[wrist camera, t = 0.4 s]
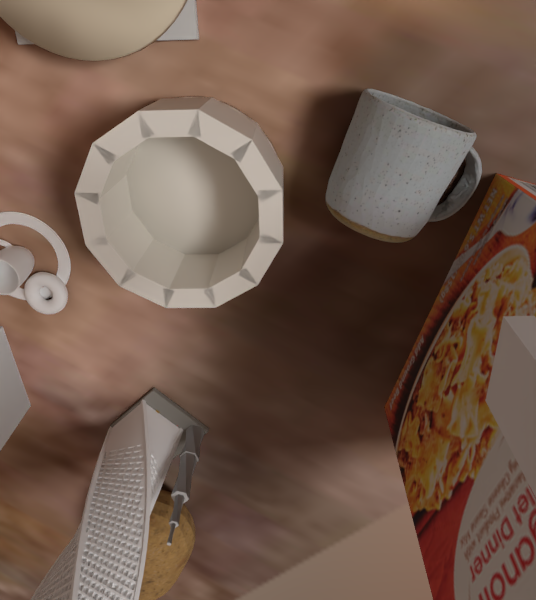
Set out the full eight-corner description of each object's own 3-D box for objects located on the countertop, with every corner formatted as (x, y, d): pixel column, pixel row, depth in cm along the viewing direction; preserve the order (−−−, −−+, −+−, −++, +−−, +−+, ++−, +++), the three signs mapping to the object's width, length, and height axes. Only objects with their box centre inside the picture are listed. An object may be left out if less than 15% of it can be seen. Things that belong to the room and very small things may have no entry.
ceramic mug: (315, 193, 38) (323, 229, 31) (356, 81, 34) (375, 94, 27) (442, 233, 39) (476, 277, 32) (495, 130, 35) (547, 154, 29)
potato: (112, 544, 58) (88, 614, 51) (112, 458, 52) (84, 525, 45) (195, 555, 59) (182, 626, 52) (205, 470, 52) (193, 539, 45)
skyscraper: (155, 470, 52) (36, 860, 28) (92, 427, 50) (-101, 814, 25) (208, 428, 49) (129, 824, 25) (144, 380, 47) (-16, 768, 22)
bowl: (97, 98, 35) (57, 112, 29) (282, 93, 35) (281, 107, 28) (127, 267, 41) (98, 308, 35) (284, 265, 41) (283, 307, 35)
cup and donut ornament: (83, 305, 44) (65, 329, 40) (-5, 306, 44) (-31, 331, 41) (60, 208, 40) (37, 226, 36) (-37, 211, 40) (-70, 228, 36)
